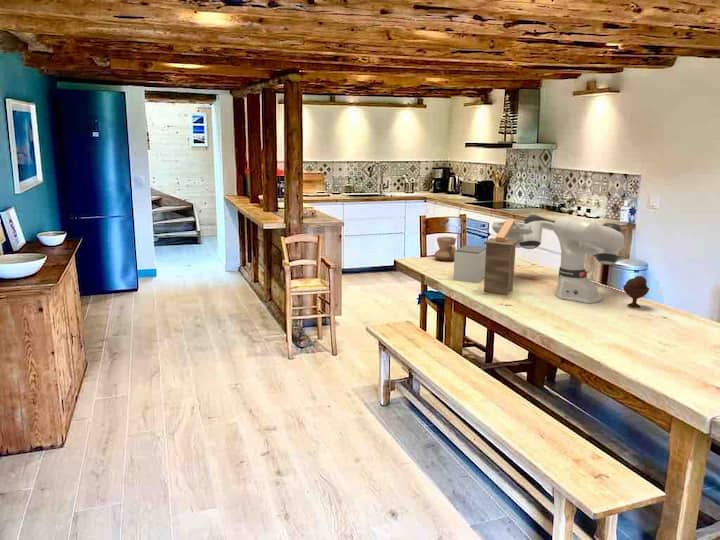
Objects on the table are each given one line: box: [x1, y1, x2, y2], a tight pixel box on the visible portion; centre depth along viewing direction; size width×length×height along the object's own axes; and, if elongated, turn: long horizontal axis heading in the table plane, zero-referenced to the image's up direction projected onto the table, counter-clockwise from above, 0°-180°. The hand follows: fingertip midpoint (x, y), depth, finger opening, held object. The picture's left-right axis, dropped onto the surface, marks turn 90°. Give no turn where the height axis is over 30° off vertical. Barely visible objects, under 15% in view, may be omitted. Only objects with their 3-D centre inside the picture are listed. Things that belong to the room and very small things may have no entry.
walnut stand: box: [483, 237, 518, 296], centre depth 305 cm, size 14×14×26 cm
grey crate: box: [452, 244, 486, 283], centre depth 333 cm, size 18×14×16 cm
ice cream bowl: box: [622, 275, 650, 309], centre depth 281 cm, size 11×11×15 cm
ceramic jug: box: [434, 236, 457, 262], centre depth 380 cm, size 18×14×14 cm
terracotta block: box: [495, 218, 516, 242], centre depth 309 cm, size 23×4×2 cm, turn 153°
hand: (509, 222), depth 315 cm, fingers closed on terracotta block, 4 cm apart
